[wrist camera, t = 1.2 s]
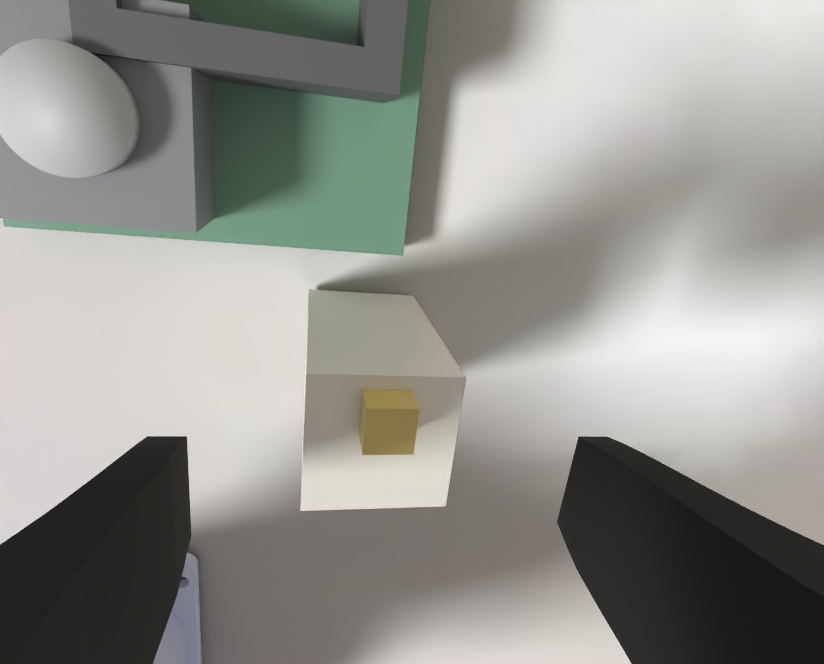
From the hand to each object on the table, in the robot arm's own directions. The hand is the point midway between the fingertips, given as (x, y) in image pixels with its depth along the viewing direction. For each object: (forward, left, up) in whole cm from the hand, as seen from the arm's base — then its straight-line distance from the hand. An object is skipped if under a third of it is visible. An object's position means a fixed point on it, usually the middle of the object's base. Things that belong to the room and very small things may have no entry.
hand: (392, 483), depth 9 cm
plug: (0, 0, -7) cm, 7 cm away
